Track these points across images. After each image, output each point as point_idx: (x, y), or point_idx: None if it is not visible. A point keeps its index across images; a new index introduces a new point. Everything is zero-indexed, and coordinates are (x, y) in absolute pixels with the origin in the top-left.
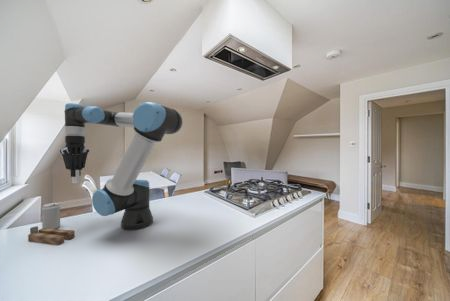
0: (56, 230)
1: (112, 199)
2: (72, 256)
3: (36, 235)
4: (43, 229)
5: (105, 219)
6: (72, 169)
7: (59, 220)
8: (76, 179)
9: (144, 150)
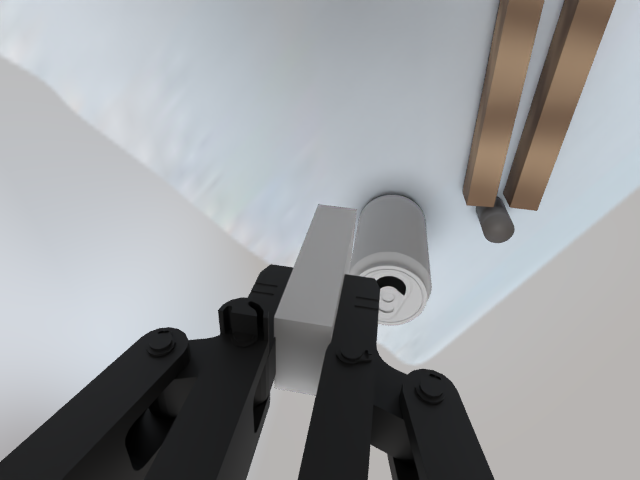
0: (503, 108)
1: None
2: None
3: (552, 163)
4: (485, 191)
5: (239, 19)
6: (384, 369)
7: (376, 210)
8: (351, 234)
9: None
